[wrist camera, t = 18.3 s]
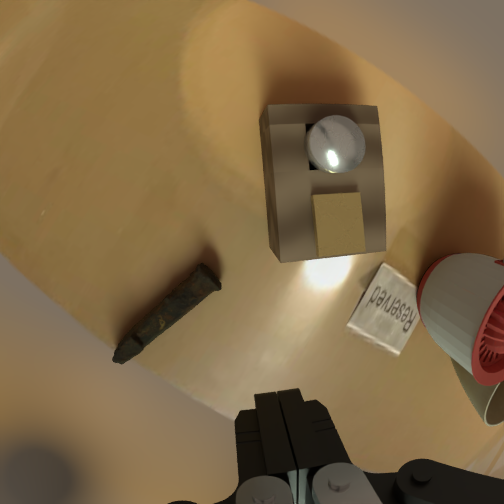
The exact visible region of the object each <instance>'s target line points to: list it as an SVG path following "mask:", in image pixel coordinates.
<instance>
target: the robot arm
mask: <svg viewBox="0 0 504 504" xmlns="http://www.w3.org/2000/svg"><path fill="white" fill-rule="evenodd" d="M254 399H255V408H256V409H250V410H241V411H240V412H239V414H238V416H237V418H236V419H235V434H236V448H237V463H238V475H239V483H238V486H237V488H236V490H235V492H234V493H233V494H232V495H231V496H229V497H228V498H227V499H225V500H223V501H220V502H218V503H214V504H504V480H503V479H499V478H494V477H490V476H486V475H482V474H478V473H474V472H470V471H466V470H463V469H459V468H456V467H452V466H449V465H446V464H442V463H439V462H436V461H433V460H429V459H415V460H412V461H409V462H407V463H406V464H404V465H403V466H402V467H401V468H400V469H399V471H398V472H395V473H368V472H365V471H362V470H361V469H360V468H358V467H357V466H355V465H353V464H352V462H351V461H350V459H349V457H348V454H347V452H346V450H345V448H344V445H343V443H342V441H341V439H340V437H339V434H338V432H337V430H336V429H335V426H334V423H333V421H332V420H331V417H330V415H329V412H328V410H327V408H326V407H325V406H324V405H322V404H321V403H320V402H319V401H317V400H311V401H305V402H304V400H303V397H302V395H301V392H300V389H299V388H295V389H289V390H282V391H277V394H276V392H268V393H261V394H254ZM168 504H197V503H194V502H191V501H175V502H171V503H168Z"/></svg>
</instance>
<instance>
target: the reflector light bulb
mask: <svg viewBox="0 0 504 504" xmlns="http://www.w3.org/2000/svg"><path fill="white" fill-rule="evenodd" d="M365 148H366V146H365V139H364V136H363V133H362V131H361V129H360V128H359V127H358V126H357V124H356V123H354V122H353V121H352V120H350V119H349V118H347V117H344V116H340V115H332V116H328V117H325V118H323V119H321V120H320V121H318V122H316V123H315V124H314V125H312V126H311V127H310V128H309V130H308V131H307V133H306V135H305V139H304V150H305V154H306V156H307V158H308V160H309V164H310V165H313V166H314V167H315V168H317V169H318V170H320V171H322V172H325V173H344V172H348V171H351V170H353V169H354V168H356V167H357V166H358V165H359V164H360V162H361V161H362V159H363V157H364V154H365Z"/></svg>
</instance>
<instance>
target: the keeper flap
mask: <svg viewBox="0 0 504 504" xmlns="http://www.w3.org/2000/svg"><path fill="white" fill-rule="evenodd" d="M311 204H312V214H313V224H314V234H315V245H316V256H318V257H322V256H331V255H340V254H349V253H358V252H366V249H365V237H364V225H363V215H362V205H361V196H360V192H356V193H338V194H322V195H312V196H311Z"/></svg>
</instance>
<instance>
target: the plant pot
mask: <svg viewBox="0 0 504 504" xmlns="http://www.w3.org/2000/svg"><path fill="white" fill-rule="evenodd" d="M450 358H451V361H452V363H453V366H454V369H455V371H456V373H457V376H458V378H459V380H460V382H461V384H462V386H463V388H464V390H465V392H466V394H467V396H468V397H469V399H470V401H471V403H472V404H473V406H474V407H475V409H476V411H477V412H478V414H479V415H480V417H481V418H482V420H483V421H484V423H485V424H486V425H487V426H496V425H499V424H501V423H502V422H504V381H502V382H500V383H498V384H495V385H492V386H484V385H481V384H479V383H478V382H477V381H476V380H475V379H474V376H473V375H472V374H471V373H470V372H468V371H467V370H466V369H465V368H464V367H463V366H461V365H460V364H459V363H458V362H457V361H455V360H454V359H453V358H452V357H451V356H450Z"/></svg>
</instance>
